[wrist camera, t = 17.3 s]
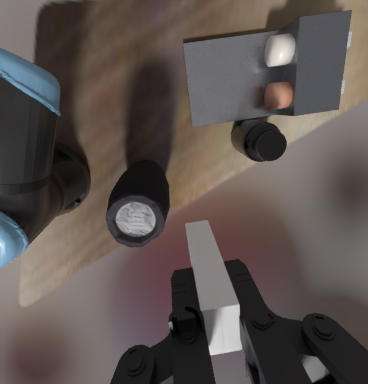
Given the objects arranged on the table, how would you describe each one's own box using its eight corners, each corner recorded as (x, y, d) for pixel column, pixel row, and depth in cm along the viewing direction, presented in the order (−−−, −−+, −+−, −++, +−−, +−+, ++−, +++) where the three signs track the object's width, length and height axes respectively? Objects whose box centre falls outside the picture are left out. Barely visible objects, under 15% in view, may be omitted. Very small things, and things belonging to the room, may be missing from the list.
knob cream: (264, 68, 39) (276, 64, 35) (264, 39, 37) (277, 31, 33) (334, 58, 39) (353, 53, 35) (337, 29, 38) (358, 20, 33)
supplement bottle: (248, 111, 43) (277, 113, 32) (268, 135, 45) (302, 145, 34) (223, 137, 45) (242, 147, 33) (244, 159, 47) (269, 175, 36)
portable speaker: (119, 162, 45) (89, 200, 26) (164, 154, 45) (164, 186, 27) (130, 199, 48) (109, 256, 30) (171, 191, 48) (176, 243, 30)
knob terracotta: (264, 109, 41) (275, 110, 37) (264, 84, 40) (275, 82, 36) (329, 100, 42) (347, 99, 38) (332, 75, 40) (351, 71, 36)
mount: (192, 126, 43) (197, 130, 37) (182, 44, 38) (186, 32, 31) (312, 108, 44) (338, 109, 37) (320, 25, 39) (351, 9, 32)
